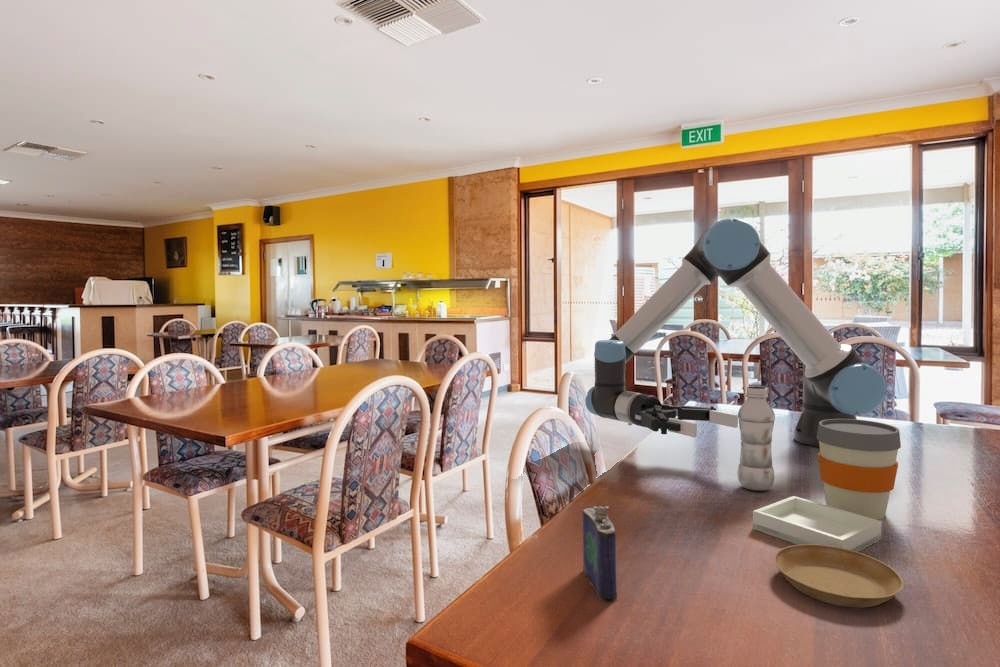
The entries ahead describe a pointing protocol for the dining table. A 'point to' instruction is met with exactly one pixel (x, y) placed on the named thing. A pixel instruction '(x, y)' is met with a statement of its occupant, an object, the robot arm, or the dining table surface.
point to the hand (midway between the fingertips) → (716, 425)
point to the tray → (816, 524)
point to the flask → (600, 552)
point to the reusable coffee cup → (858, 464)
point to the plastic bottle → (756, 440)
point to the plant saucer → (838, 575)
